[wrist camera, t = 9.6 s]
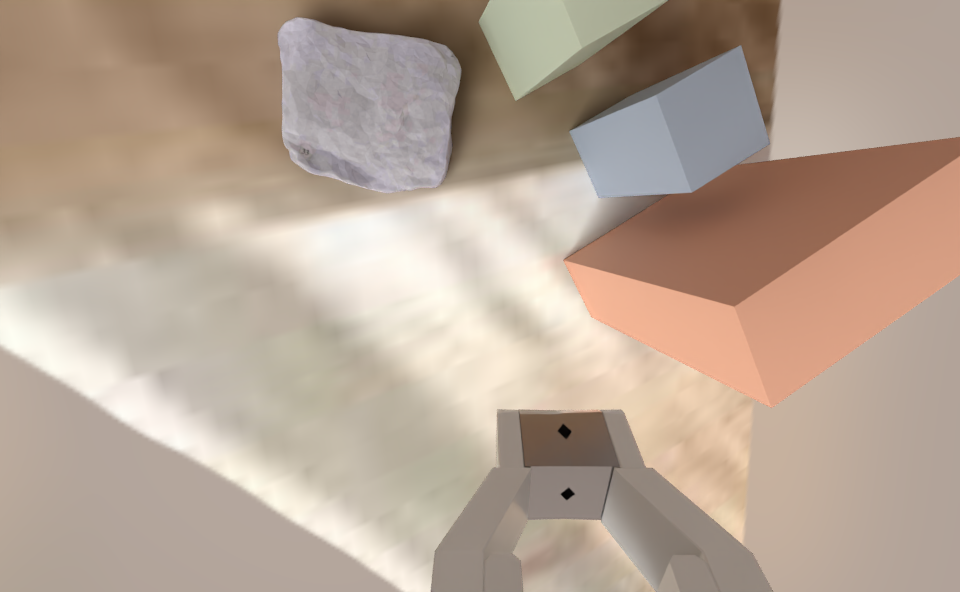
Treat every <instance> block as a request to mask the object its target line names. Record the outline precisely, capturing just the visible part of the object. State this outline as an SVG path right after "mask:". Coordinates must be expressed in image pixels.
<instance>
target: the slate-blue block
mask: <svg viewBox="0 0 960 592" xmlns="http://www.w3.org/2000/svg"><path fill="white" fill-rule="evenodd" d="M569 132H570V134H571V136H572V138H573V141H574V143H575V145H576V147H577V150H578V152H579V154H580V156H581V159H582V161H583V163H584V166H585V168H586V170H587V172H588V175H589V177H590V179H591V181H592V184H593V186H594V188H595V191H596V193H597V195H598V197H599V198H605V197H623V196H641V195H659V194H677V193H692V192H694V191H695V190H697V189H698V188H700V187H702V186H703V185H705V184H706V183H708V182H710V181H711V180H713V179H714V178H716V177H718V176H719V175H721V174H722V173H724V172H726V171H727V170H729V169H730V168H732V167H734V166H735V165H737V164H738V163H740V162H742V161H743V160H745V159H746V158H748V157H750V156H751V155H753V154H754V153H756V152H758V151H759V150H761V149H762V148H764V147H766V146H767V145H769V144H770V142H769V138H768V135H767V132H766V128H765V125H764V121H763V118H762V115H761V111H760V108H759V104H758V101H757V98H756V94H755V91H754V88H753V84H752V81H751V77H750V74H749V71H748V67H747V64H746V60H745V57H744V54H743V50H742V47H741V45H740V46H738V47H736V48H734V49H731V50H729V51H727V52H725V53H723V54H720V55H718V56H716V57H714V58H712V59H709V60H707V61H705V62H703V63H701V64H698V65H696V66H694V67H692V68H690V69H687V70H685V71H683V72H681V73H679V74H677V75H674V76H672V77H670V78H668V79H666V80H663V81H661V82H659V83H657V84H655V85H652V86H650V87H648V88H646V89H644V90H641V91H639V92H637V93H635V94H633V95H630V96H629V97H627V98H625V99H623V100H622V101H620V102H618V103H617V104H615V105H613V106H611V107H610V108H608V109H606V110H605V111H603V112H601V113H600V114H598V115H596V116H594V117H593V118H591V119H589V120H588V121H586V122H584V123H582V124H581V125H579V126H577V127H576V128H574V129H572V130H570V131H569Z"/></svg>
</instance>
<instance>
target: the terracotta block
mask: <svg viewBox="0 0 960 592" xmlns="http://www.w3.org/2000/svg"><path fill="white" fill-rule="evenodd" d="M564 263H565V265H566V267H567V269H568V271H569V273H570V275H571V277H572V279H573V281H574V283H575V285H576V287H577V289H578V291H579V293H580V295H581V297H582V299H583V301H584V303H585V305H586V307H587V309H588V311H589V313H590V315H591V317H592V318H594V319H596V320H598V321H600V322H602V323H604V324H606V325H608V326H610V327H612V328H614V329H616V330H618V331H620V332H622V333H624V334H626V335H628V336H630V337H632V338H634V339H636V340H638V341H640V342H642V343H644V344H646V345H648V346H650V347H652V348H654V349H656V350H658V351H660V352H662V353H664V354H666V355H668V356H670V357H672V358H674V359H675V360H677V361H679V362H681V363H683V364H685V365H687V366H689V367H691V368H693V369H695V370H697V371H699V372H701V373H703V374H705V375H707V376H709V377H711V378H713V379H715V380H717V381H719V382H721V383H723V384H725V385H727V386H729V387H731V388H733V389H735V390H737V391H739V392H741V393H743V394H745V395H747V396H749V397H751V398H753V399H755V400H757V401H759V402H761V403H763V404H765V405H767V406H769V407H771V408H772V407H774V406H775V405H777V404H778V403H779V402H781V401H782V400H784V399H785V398H786V397H788V396H789V395H791V394H792V393H793V392H795V391H796V390H798V389H799V388H800V387H802V386H803V385H805V384H806V383H808V382H809V381H810V380H812V379H813V378H815V377H816V376H818V375H819V374H820V373H822V372H823V371H825V370H826V369H827V368H829V367H830V366H832V365H833V364H834V363H836V362H837V361H839V360H840V359H842V358H843V357H844V356H846V355H847V354H849V353H850V352H851V351H853V350H854V349H856V348H857V347H859V346H860V345H861V344H863V343H864V342H866V341H867V340H868V339H870V338H871V337H873V336H874V335H876V334H877V333H878V332H880V331H881V330H883V329H884V328H885V327H887V326H888V325H890V324H891V323H893V322H894V321H895V320H897V319H898V318H900V317H901V316H902V315H904V314H905V313H907V312H908V311H910V310H911V309H912V308H914V307H915V306H916V305H918V304H919V303H921V302H922V301H924V300H925V299H927V298H928V297H929V296H931V295H932V294H934V293H935V292H936V291H938V290H939V289H941V288H942V287H944V286H945V285H946V284H948V283H949V282H951V281H952V280H953V279H955V278H956V277H958V276H959V275H960V137H956V138H948V139H940V140H932V141H926V142H917V143H908V144H902V145H893V146H885V147H877V148H869V149H861V150H853V151H845V152H837V153H829V154H821V155H813V156H805V157H797V158H789V159H781V160H773V161H765V162H757V163H749V164H741V165H735V166H734V167H732V168H730V169H729V170H727V171H726V172H724V173H722V174H721V175H719V176H718V177H716V178H714V179H713V180H711V181H710V182H708V183H706V184H705V185H703V186H702V187H700V188H698V189H697V190H695V191H694V192H692V193H677V194H669V195H667V196H666V197H664V198H662V199H661V200H659V201H658V202H656V203H654V204H653V205H651V206H650V207H648V208H646V209H645V210H643V211H642V212H640V213H638V214H637V215H635V216H634V217H632V218H630V219H629V220H627V221H626V222H624V223H622V224H621V225H619V226H617V227H616V228H614V229H613V230H611V231H609V232H608V233H606V234H605V235H603V236H601V237H600V238H598V239H597V240H595V241H593V242H592V243H590V244H589V245H587V246H585V247H584V248H582V249H581V250H579V251H577V252H576V253H574V254H572V255H571V256H569V257H568V258H566V259H564Z"/></svg>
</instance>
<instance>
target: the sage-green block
mask: <svg viewBox="0 0 960 592" xmlns="http://www.w3.org/2000/svg"><path fill="white" fill-rule="evenodd" d="M667 1H668V0H490V1H489V3H488V5H487V7H486V9H485V10H484V12H483V14H482V16H481V18H480V20H479V24H480V26H481V28H482V30H483V33H484V35H485V37H486V39H487V41H488V43H489V45H490V47H491V50H492V52H493V54H494V56H495V58H496V60H497V62H498V65H499V67H500V69H501V71H502V73H503V75H504V77H505V79H506V82H507V84H508V86H509V88H510V90H511V92H512V94H513V96H514V99H515V101H517V100H519V99H520V98H522V97H524V96H526V95H527V94H529V93H531V92H533V91H534V90H536V89H538V88H540V87H541V86H543V85H545V84H547V83H548V82H550V81H552V80H554V79H556V78H557V77H559V76H561V75H563V74H564V73H566V72H568V71H570V70H571V69H573V68H575V67H577V66H578V65H580V64H581V63H583V62H584V61H586V60H587V59H588V58H590V57H591V56H592V55H594V54H595V53H597V52H598V51H599V50H601V49H602V48H603V47H605V46H606V45H608V44H609V43H610V42H612V41H613V40H614V39H616V38H617V37H619V36H620V35H621V34H623V33H624V32H625V31H627V30H628V29H630V28H631V27H632V26H634V25H635V24H636V23H638V22H639V21H641V20H642V19H643V18H645V17H646V16H648V15H649V14H650V13H652V12H653V11H654V10H656V9H657V8H659V7H660V6H661V5H663V4H664V3H665V2H667Z"/></svg>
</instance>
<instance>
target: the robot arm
mask: <svg viewBox="0 0 960 592" xmlns="http://www.w3.org/2000/svg"><path fill="white" fill-rule="evenodd" d="M535 519H586V520H601V523H602V524H603V525H604V526H605V528H606V529H607V530H608V531H609V533H610V534H611V535H612V537H613V538H614V539H615V540H616V542H617V543H618V544H619V545H620V547H621V548H622V549H623V551H624V552H625V553H626V554H627V556H628V557H629V558H630V559H631V561H632V562H633V563H634V565H635V566H636V567H637V568H638V570H639V571H640V572H641V573H642V575H643V576H644V577H645V578H646V580H647V581H648V582H649V584H650V585H651V586H652V587H653V589H654V590H655V591H656V592H773V590H772V588H771V587H770V585H769V583H768V581H767V579H766V577H765V575H764V574H763V572H762V570H761V568H760V566H759V564H758V562H757V560H756V559H755V557H754V555H753V553H752V552H750V551H749V550H748V549H747V548H746V547H745V546H743V545H742V544H741V543H740V542H739V541H738V540H736V539H735V538H734V537H733V536H732V535H731V534H729V533H728V532H727V531H726V530H725V529H724V528H722V527H721V526H720V525H719V524H718V523H717V522H715V521H714V520H713V519H712V518H711V517H710V516H708V515H707V514H706V513H705V512H704V511H702V510H701V509H700V508H699V507H698V506H697V505H695V504H694V503H693V502H692V501H691V500H690V499H688V498H687V497H686V496H685V495H684V494H683V493H681V492H680V491H679V490H678V489H677V488H676V487H674V486H673V485H672V484H671V483H670V482H669V481H667V480H666V479H665V478H664V477H663V476H662V475H660V474H659V473H658V472H657V471H656V470H655V469H653V468H646V466H645V464H644V461H643V459H642V456H641V454H640V451H639V449H638V446H637V444H636V441H635V439H634V436H633V434H632V431H631V429H630V426H629V424H628V421H627V419H626V416H625V414H624V412H623V411H622V410H558V411H556V410H502V409H497V430H496V467H493V468H492V469H491V471H490V472H489V474H488V475H487V476H486V478H485V479H484V481H483V482H482V484H481V485H480V487H479V488H478V489H477V491H476V492H475V494H474V495H473V497H472V498H471V500H470V501H469V502H468V504H467V505H466V507H465V508H464V510H463V511H462V513H461V514H460V516H459V517H458V518H457V520H456V521H455V523H454V524H453V526H452V527H451V529H450V530H449V531H448V533H447V534H446V536H445V537H444V539H443V540H442V542H441V543H440V544H439V546H438V547H437V549H436V550H435V555H434V565H433V574H432V584H431V592H523V581H522V569H521V561H520V560H519V559H518V558H517V557H516V556H515V555H514V554H512V553H513V551H514V549H515V547H516V544H517V542H518V540H519V538H520V536H521V534H522V532H523V530H524V528H525V526H526V524H527V520H535Z"/></svg>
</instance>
